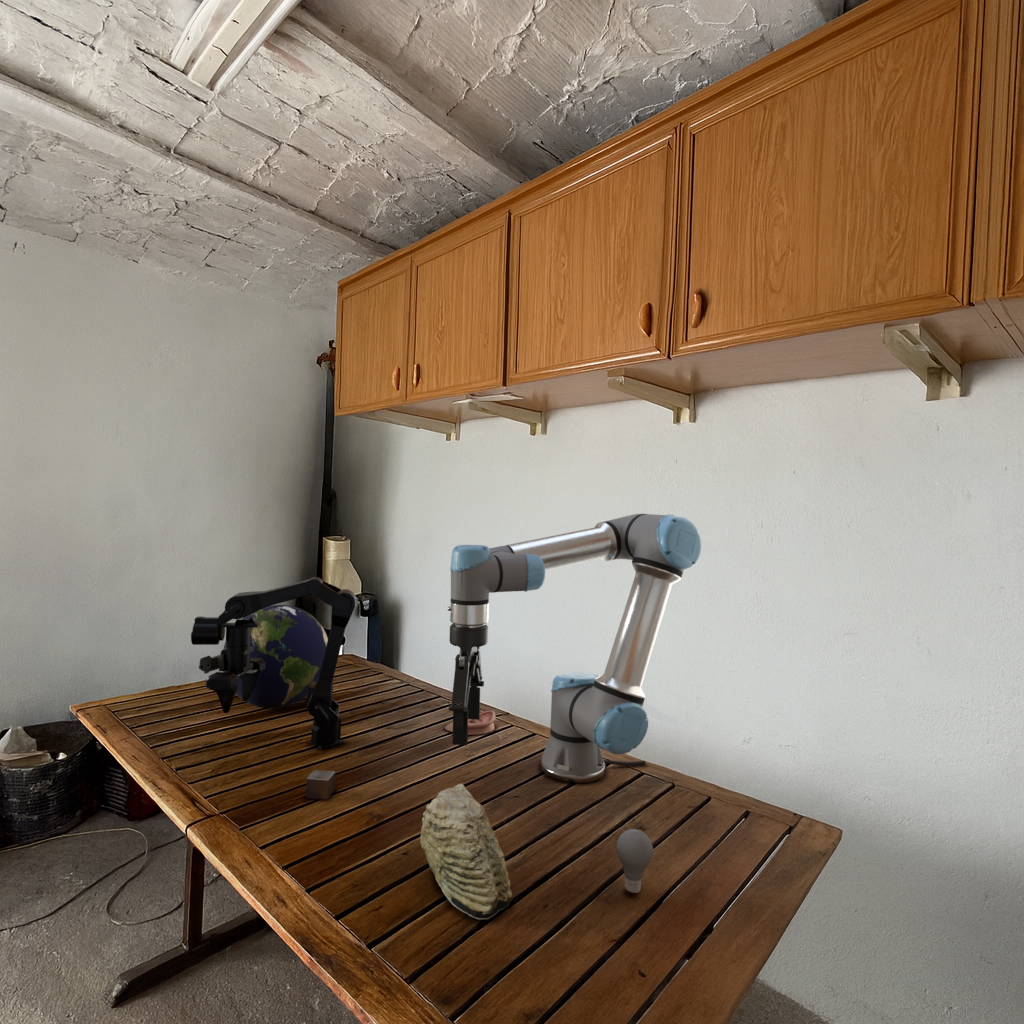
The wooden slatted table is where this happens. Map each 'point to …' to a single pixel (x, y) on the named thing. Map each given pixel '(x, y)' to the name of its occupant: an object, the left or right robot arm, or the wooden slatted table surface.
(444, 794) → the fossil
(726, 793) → the wooden slatted table surface
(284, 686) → the globe
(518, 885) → the wooden slatted table surface
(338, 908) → the wooden slatted table surface
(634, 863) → the light bulb
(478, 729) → the anatomical model
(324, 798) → the block
